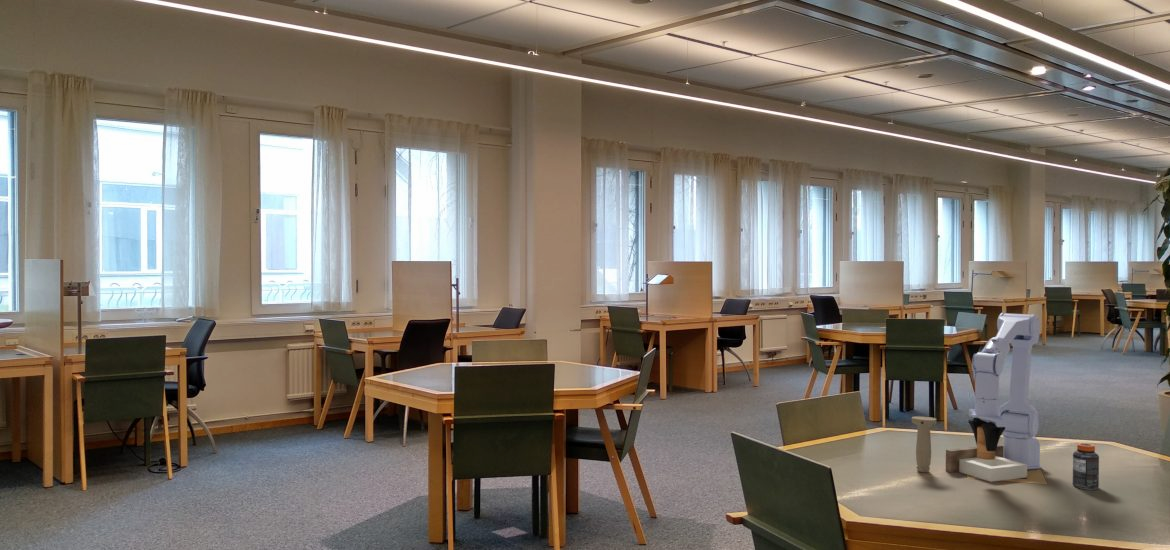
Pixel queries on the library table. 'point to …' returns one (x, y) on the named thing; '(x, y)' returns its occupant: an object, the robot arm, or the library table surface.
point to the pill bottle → (1085, 467)
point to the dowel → (983, 446)
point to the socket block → (993, 468)
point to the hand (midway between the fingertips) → (986, 448)
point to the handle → (923, 442)
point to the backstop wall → (964, 456)
